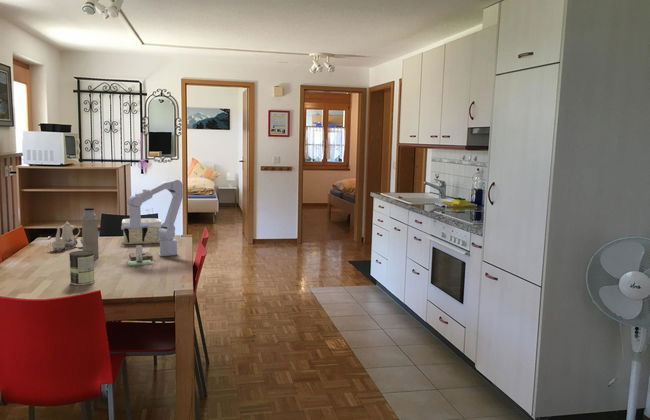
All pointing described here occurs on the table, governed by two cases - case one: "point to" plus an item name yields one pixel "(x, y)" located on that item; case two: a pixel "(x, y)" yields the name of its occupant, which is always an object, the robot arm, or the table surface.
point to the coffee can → (82, 267)
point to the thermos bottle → (90, 232)
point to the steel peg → (139, 254)
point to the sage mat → (133, 263)
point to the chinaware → (65, 238)
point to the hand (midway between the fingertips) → (135, 241)
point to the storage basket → (136, 234)
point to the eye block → (144, 256)
